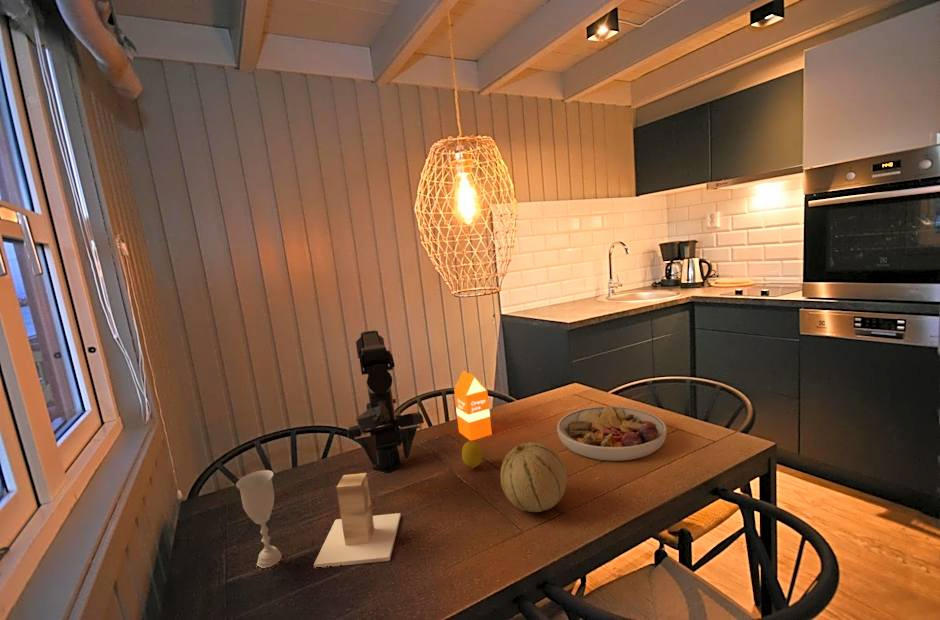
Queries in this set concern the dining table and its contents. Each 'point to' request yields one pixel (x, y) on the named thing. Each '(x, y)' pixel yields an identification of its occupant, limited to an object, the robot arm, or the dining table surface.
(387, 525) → the tile
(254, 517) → the chalice
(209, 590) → the dining table surface
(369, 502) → the wood block
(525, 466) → the cantaloupe
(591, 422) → the bowl
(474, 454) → the lemon
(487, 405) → the orange juice
